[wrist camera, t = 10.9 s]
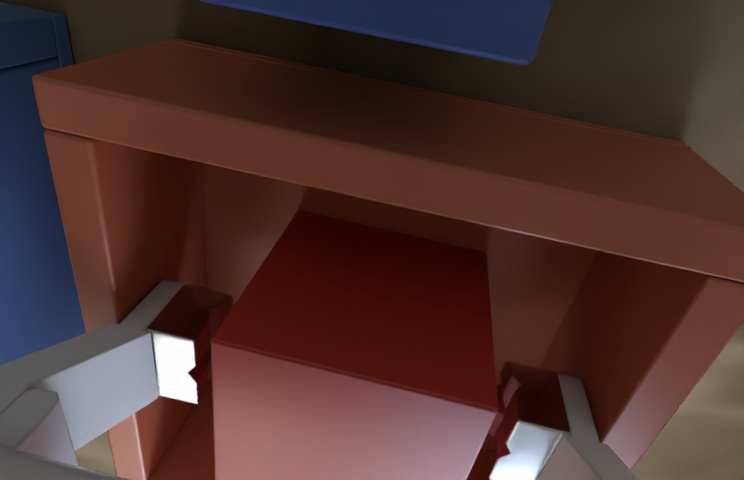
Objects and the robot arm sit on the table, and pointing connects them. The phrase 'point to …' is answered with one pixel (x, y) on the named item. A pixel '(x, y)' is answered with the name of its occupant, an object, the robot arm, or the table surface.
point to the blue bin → (31, 193)
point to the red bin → (392, 220)
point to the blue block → (426, 22)
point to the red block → (355, 359)
